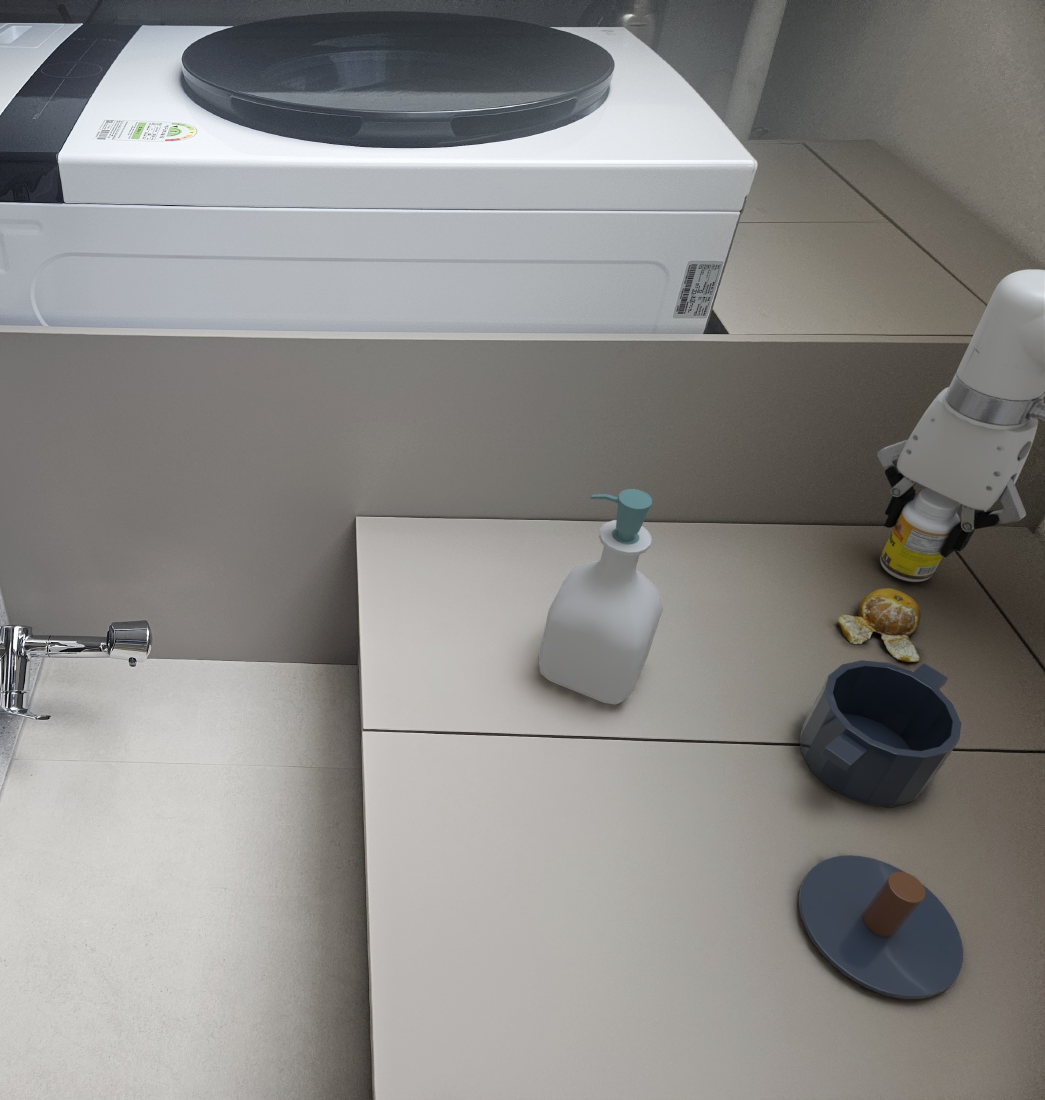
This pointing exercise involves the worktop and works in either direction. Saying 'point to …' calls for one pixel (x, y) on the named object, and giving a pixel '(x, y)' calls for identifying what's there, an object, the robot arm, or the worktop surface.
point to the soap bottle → (605, 611)
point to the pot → (880, 731)
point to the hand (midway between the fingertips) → (921, 535)
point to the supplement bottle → (920, 536)
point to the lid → (880, 927)
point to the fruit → (885, 622)
